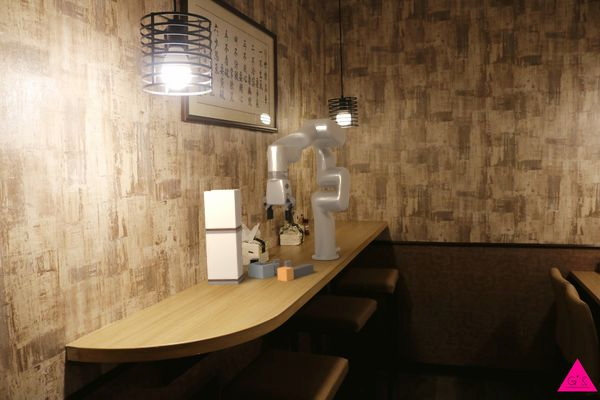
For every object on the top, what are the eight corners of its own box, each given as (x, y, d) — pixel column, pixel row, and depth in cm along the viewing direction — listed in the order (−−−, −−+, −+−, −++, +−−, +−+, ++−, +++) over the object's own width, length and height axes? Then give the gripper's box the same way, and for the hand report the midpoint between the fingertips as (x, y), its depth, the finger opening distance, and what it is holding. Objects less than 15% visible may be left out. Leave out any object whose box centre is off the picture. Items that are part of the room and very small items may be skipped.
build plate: (258, 272, 215) (258, 261, 214) (242, 272, 216) (241, 261, 216) (266, 266, 227) (266, 256, 226) (250, 266, 228) (250, 256, 228)
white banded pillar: (243, 278, 202) (240, 189, 200) (238, 284, 191) (234, 190, 189) (215, 278, 203) (211, 190, 201) (208, 284, 192) (203, 191, 190)
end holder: (259, 273, 209) (259, 261, 209) (274, 275, 204) (273, 263, 204) (248, 276, 204) (247, 264, 204) (263, 279, 199) (262, 266, 199)
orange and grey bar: (305, 272, 209) (305, 261, 209) (314, 273, 206) (314, 262, 206) (277, 280, 196) (277, 268, 196) (286, 281, 193) (286, 269, 193)
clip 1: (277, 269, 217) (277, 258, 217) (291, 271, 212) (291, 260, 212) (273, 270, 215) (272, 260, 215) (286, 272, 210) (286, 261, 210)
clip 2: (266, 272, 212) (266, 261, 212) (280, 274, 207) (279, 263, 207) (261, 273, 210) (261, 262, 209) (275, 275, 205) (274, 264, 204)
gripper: (300, 175, 198) (301, 219, 199) (269, 176, 209) (270, 218, 210) (287, 176, 192) (288, 221, 193) (255, 176, 204) (256, 219, 205)
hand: (279, 219), depth 202 cm, fingers open, 9 cm apart
